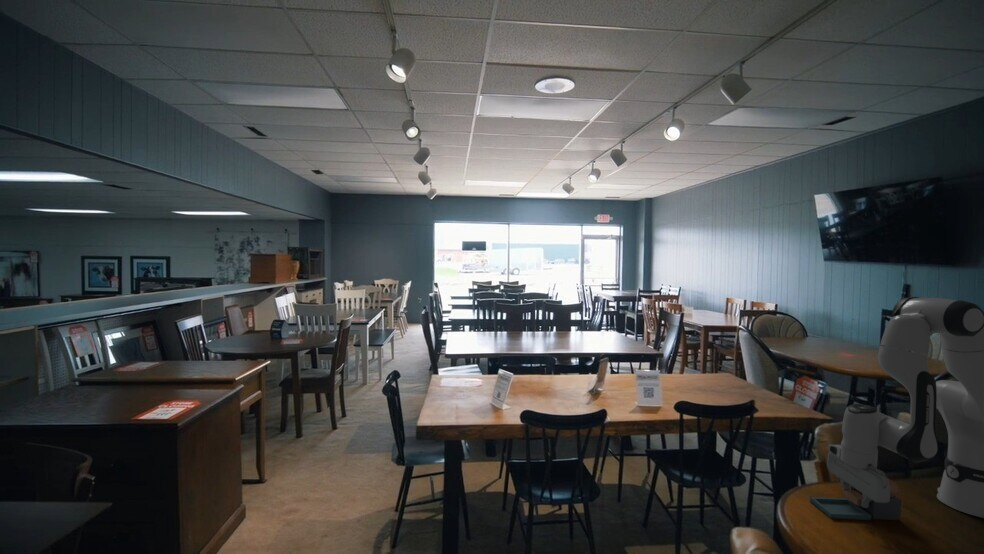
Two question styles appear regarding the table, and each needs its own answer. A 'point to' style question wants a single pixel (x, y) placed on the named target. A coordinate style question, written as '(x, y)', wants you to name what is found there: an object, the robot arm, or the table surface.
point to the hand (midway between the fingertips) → (855, 500)
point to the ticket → (854, 496)
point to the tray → (840, 508)
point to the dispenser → (885, 505)
